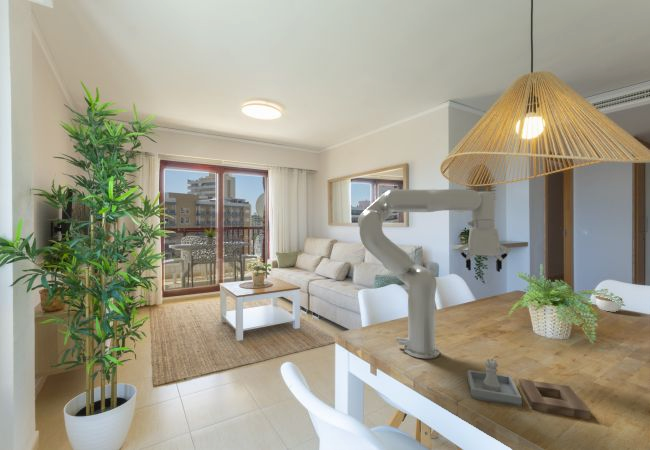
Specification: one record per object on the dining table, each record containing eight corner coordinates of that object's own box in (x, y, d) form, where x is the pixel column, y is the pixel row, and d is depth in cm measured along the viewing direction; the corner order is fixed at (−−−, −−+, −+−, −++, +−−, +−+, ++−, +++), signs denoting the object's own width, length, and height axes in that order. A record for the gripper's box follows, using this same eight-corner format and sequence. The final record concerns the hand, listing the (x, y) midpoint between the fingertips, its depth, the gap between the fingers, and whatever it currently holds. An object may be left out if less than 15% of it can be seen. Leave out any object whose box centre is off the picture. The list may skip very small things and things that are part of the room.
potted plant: (591, 307, 169) (590, 291, 169) (614, 309, 166) (613, 292, 166) (603, 313, 158) (602, 295, 158) (627, 314, 156) (627, 296, 156)
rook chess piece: (494, 384, 87) (494, 357, 87) (504, 392, 82) (504, 364, 82) (479, 384, 87) (479, 357, 87) (488, 393, 82) (488, 364, 82)
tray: (472, 398, 81) (472, 389, 81) (467, 377, 92) (467, 369, 92) (521, 407, 77) (521, 397, 77) (510, 384, 88) (510, 376, 88)
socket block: (531, 409, 76) (531, 401, 76) (519, 385, 87) (519, 378, 87) (590, 419, 72) (590, 411, 72) (569, 393, 83) (569, 386, 83)
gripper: (458, 225, 111) (459, 270, 111) (512, 224, 105) (512, 273, 105) (457, 225, 118) (457, 268, 118) (507, 224, 112) (507, 270, 112)
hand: (483, 270), depth 111 cm, fingers open, 9 cm apart
